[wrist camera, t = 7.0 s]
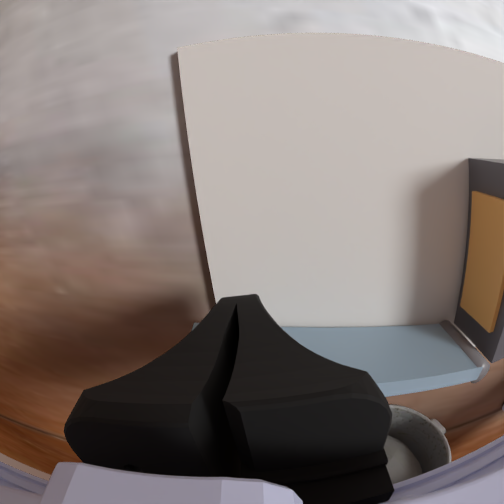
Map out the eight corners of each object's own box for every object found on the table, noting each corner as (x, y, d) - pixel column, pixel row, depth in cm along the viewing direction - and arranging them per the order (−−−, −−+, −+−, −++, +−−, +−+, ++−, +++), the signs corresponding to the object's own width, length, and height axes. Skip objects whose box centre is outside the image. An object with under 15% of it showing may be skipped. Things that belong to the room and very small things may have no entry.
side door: (193, 318, 13) (177, 378, 10) (453, 319, 14) (493, 360, 10) (195, 353, 14) (181, 414, 10) (442, 349, 15) (476, 393, 11)
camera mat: (546, 82, 10) (550, 82, 9) (531, 319, 15) (534, 321, 15) (179, 50, 10) (177, 47, 10) (236, 392, 16) (236, 397, 15)
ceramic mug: (296, 470, 19) (308, 553, 12) (328, 404, 16) (359, 513, 9) (409, 456, 20) (436, 521, 13) (455, 392, 17) (502, 464, 10)
